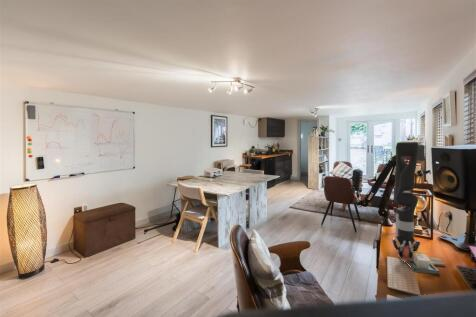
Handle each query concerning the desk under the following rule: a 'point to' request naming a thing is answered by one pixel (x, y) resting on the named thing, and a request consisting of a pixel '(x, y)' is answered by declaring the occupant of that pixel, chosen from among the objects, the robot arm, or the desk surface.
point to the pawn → (405, 253)
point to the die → (421, 261)
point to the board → (432, 260)
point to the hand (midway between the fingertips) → (405, 257)
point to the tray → (431, 269)
